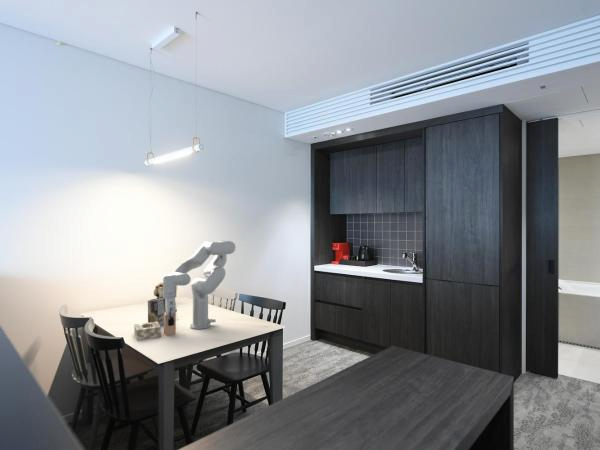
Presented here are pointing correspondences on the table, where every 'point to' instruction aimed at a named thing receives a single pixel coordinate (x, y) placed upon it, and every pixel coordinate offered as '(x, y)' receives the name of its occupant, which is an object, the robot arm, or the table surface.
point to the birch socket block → (147, 330)
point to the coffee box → (156, 311)
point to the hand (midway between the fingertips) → (169, 323)
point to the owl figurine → (159, 291)
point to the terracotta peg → (169, 329)
